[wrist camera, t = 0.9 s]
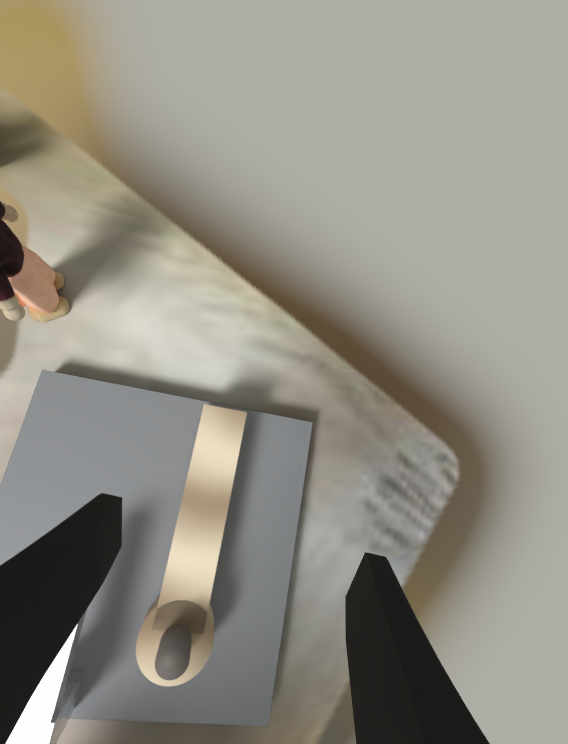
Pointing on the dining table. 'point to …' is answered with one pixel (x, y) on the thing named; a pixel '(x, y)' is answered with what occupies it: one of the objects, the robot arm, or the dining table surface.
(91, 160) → the dining table surface
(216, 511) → the link
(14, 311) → the grandmother figurine
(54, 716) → the keeper
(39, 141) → the dining table surface
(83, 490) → the board
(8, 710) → the robot arm
